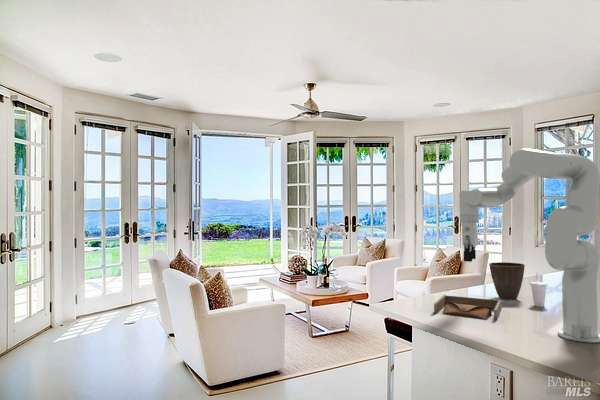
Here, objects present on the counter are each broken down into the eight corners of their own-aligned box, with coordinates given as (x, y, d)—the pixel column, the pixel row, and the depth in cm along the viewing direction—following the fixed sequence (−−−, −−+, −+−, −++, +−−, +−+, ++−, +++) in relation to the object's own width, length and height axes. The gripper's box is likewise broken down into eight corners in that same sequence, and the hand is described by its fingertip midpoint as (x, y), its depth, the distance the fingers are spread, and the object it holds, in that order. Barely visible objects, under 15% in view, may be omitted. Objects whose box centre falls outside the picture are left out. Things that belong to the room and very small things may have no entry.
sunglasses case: (439, 313, 169) (441, 298, 172) (443, 319, 174) (445, 304, 177) (488, 320, 159) (489, 303, 162) (491, 325, 164) (492, 309, 167)
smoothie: (532, 303, 187) (531, 271, 187) (549, 305, 183) (548, 272, 183) (529, 306, 182) (528, 273, 182) (546, 308, 178) (545, 274, 178)
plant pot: (493, 301, 192) (492, 265, 192) (487, 294, 206) (486, 261, 207) (529, 302, 188) (528, 266, 189) (520, 295, 203) (519, 262, 203)
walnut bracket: (497, 320, 159) (496, 309, 159) (434, 313, 170) (434, 303, 170) (501, 309, 175) (501, 300, 175) (443, 304, 187) (443, 295, 187)
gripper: (475, 219, 169) (476, 263, 168) (481, 218, 184) (482, 258, 183) (455, 219, 172) (456, 261, 172) (463, 218, 187) (463, 257, 187)
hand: (469, 260), depth 178 cm, fingers open, 9 cm apart
